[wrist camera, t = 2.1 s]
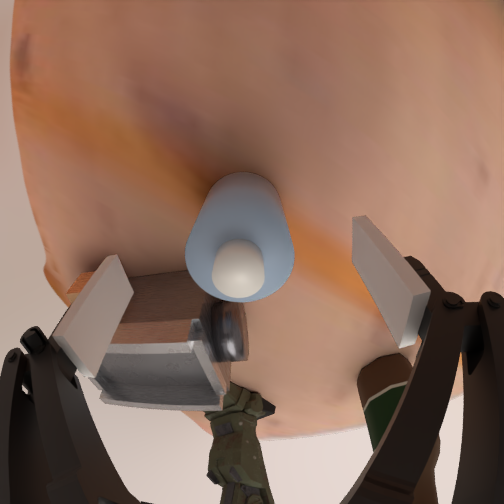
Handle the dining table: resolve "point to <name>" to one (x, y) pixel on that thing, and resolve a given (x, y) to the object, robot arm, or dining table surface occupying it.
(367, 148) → the dining table surface
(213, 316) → the open grey metal box
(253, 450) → the mechanical leg
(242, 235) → the light blue bottle
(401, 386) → the beer bottle
